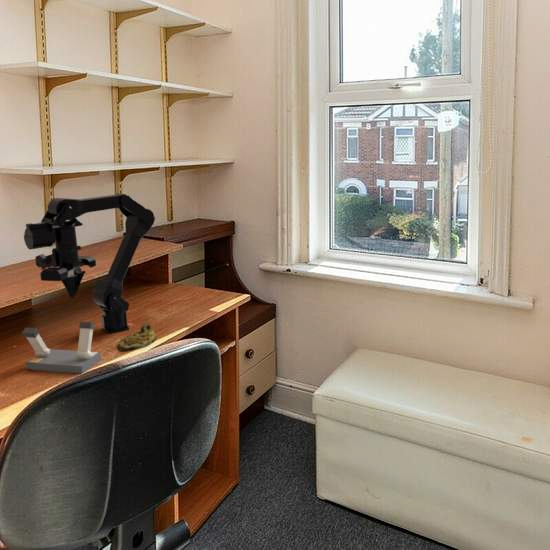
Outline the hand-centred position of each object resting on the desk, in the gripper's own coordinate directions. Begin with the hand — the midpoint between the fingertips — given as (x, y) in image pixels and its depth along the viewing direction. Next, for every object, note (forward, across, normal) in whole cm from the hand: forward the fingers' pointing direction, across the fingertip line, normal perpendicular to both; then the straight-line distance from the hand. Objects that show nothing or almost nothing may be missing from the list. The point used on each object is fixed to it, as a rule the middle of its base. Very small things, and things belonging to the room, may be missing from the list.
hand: (72, 297), depth 159 cm
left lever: (+10, +17, 0) cm, 19 cm away
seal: (+14, -2, +18) cm, 23 cm away
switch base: (+13, +17, +6) cm, 22 cm away
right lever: (+10, +17, +12) cm, 23 cm away
